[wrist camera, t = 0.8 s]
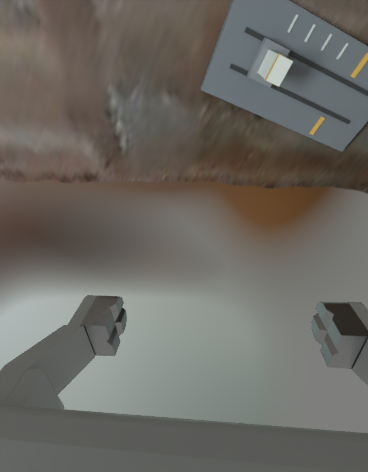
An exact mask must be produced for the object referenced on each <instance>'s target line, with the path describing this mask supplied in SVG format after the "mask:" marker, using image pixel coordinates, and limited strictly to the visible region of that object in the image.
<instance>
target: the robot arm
mask: <svg viewBox="0 0 368 472" xmlns="http://www.w3.org/2000/svg"><path fill="white" fill-rule="evenodd" d="M122 306H123V299H122V297H117V296H93V295H87V296H86V297H85V298H84V299H83V301H82V303H81V304H80V306H79V308H78V309H77V311H76V312H75V314H74V315H73V317H72V319H71V320H70V322H69V323H68V325H64V326H62V327H61V328H59V329H58V330H56V331H55V332H53V333H52V334H50V335H49V336H47V337H46V338H44V339H43V340H42V341H40V342H38V343H37V344H36V345H34V346H33V347H31V348H30V349H28V350H27V351H25V352H24V353H22V354H21V355H19V356H18V357H16V358H15V359H13V360H12V361H11V362H9V363H8V364H6V365H5V366H4V367H3V368H2V369H1V371H0V472H368V433H357V432H345V431H332V430H320V429H307V428H295V427H282V426H269V425H257V424H243V423H231V422H217V421H205V420H192V419H180V418H167V417H154V416H141V415H128V414H115V413H102V412H90V411H76V410H64V405H63V403H62V402H61V400H60V398H59V397H58V394H59V393H60V392H61V391H62V390H63V389H64V388H65V387H66V386H67V385H68V384H69V383H70V382H71V381H72V380H73V379H74V378H75V377H76V376H77V375H78V374H79V373H80V372H81V371H82V370H83V369H84V368H85V367H86V365H88V363H90V361H91V360H92V359H93V358H94V357H95V355H100V356H101V355H103V356H115V355H116V352H117V349H118V346H119V344H120V339H119V336H120V335H121V334H122V333H123V332H124V330H125V327H126V319H127V317H126V311H125V309H123V308H122ZM316 310H317V312H318V313H317V314H316V315H314V316H313V319H312V332H313V335H314V338H315V340H316V341H317V342H318V343H320V344H321V345H322V348H321V353H322V356H323V358H324V360H325V362H326V364H327V367H334V368H346V369H352V371H353V372H354V373H355V374H356V375H357V376H358V377H359V378H360V379H362V380H363V381H364V382H365V383H366V384H367V385H368V310H367V308H366V307H365V305H364V304H362V303H361V302H319V303H318V304H317V306H316Z"/></svg>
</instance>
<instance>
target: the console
mask: <svg viewBox="0 0 368 472" xmlns="http://www.w3.org/2000/svg"><path fill="white" fill-rule="evenodd" d="M264 37H265V38H267V39H269V40H271V41H273V42H275V43H277V44H279V45H281V46H283V47H285V48H286V49H288V50H290V52H289V54H288V56H287V57H286V58H288V59H290V60H292V61H293V63H292V65H291V66H290V68H289V70H288V72H287V74H286V75H285V77H284V79H283V81H282V82H281V84H280V86H279V87H278V86H276V85H274V84H272V85H271V87H268V86H266V85H264V84H262V83H260V82H257V81H255V80H253V79H251V78H249V77H248V76H247V74H248V71H249V69H250V67H251V65H252V63H253V61H254V58H255V56H256V54H257V52H258V50H259V48H260V46H261V43H262V41H263V39H264ZM201 90H202V91H204V92H207V93H209V94H211V95H214V96H216V97H218V98H220V99H223V100H225V101H227V102H230V103H232V104H234V105H236V106H239V107H241V108H243V109H246V110H248V111H250V112H252V113H255V114H257V115H259V116H262V117H264V118H266V119H268V120H271V121H273V122H275V123H278V124H280V125H282V126H284V127H287V128H289V129H291V130H294V131H296V132H298V133H300V134H303V135H305V136H307V137H310V138H312V139H314V140H316V141H319V142H321V143H323V144H326V145H328V146H330V147H332V148H335V149H337V150H339V151H343V150H344V148H345V147H346V146H347V145H348V144H349V143H350V141H351V140H352V139H353V138H354V137H355V136H356V134H357V133H358V132H359V131H360V130H361V129H362V127H363V126H364V125H365V124H366V123H367V122H368V46H366V45H365V44H363V43H361V42H359V41H358V40H356V39H354V38H353V37H351V36H349V35H347V34H346V33H344V32H342V31H341V30H339V29H337V28H335V27H334V26H332V25H330V24H329V23H327V22H325V21H323V20H322V19H320V18H318V17H317V16H315V15H313V14H311V13H310V12H308V11H306V10H305V9H303V8H301V7H299V6H298V5H296V4H294V3H293V2H291V1H289V0H232V2H231V5H230V8H229V11H228V13H227V16H226V19H225V22H224V24H223V27H222V30H221V33H220V35H219V38H218V41H217V44H216V46H215V49H214V52H213V55H212V58H211V60H210V63H209V66H208V69H207V71H206V74H205V77H204V80H203V82H202V85H201Z"/></svg>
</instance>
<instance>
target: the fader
mask: <svg viewBox="0 0 368 472" xmlns="http://www.w3.org/2000/svg"><path fill="white" fill-rule="evenodd" d="M289 52H290V50H288V49H286V48H285V47H283V46H281V45H279V44H277V43H275V42H273V41H271V40H269V39H267V38H265V37H264V39H263V41H262V43H261V46H260V48H259V50H258V52H257V54H256V56H255V58H254V61H253V63H252V65H251V67H250V69H249V71H248V74H247V76H248V77H249V78H251V79H253V80H255V81H257V82H260V83H262V84H264V85H266V86H268V87H271V85H272V84H274V85H276V86H278V87H279V86H280V84H281V82H282V81H283V79H284V77H285V75H286V74H287V72H288V70H289V68H290V66H291V65H292V63H293V61H292V60H290V59H288V58H286V57H287V56H288V54H289Z"/></svg>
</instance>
